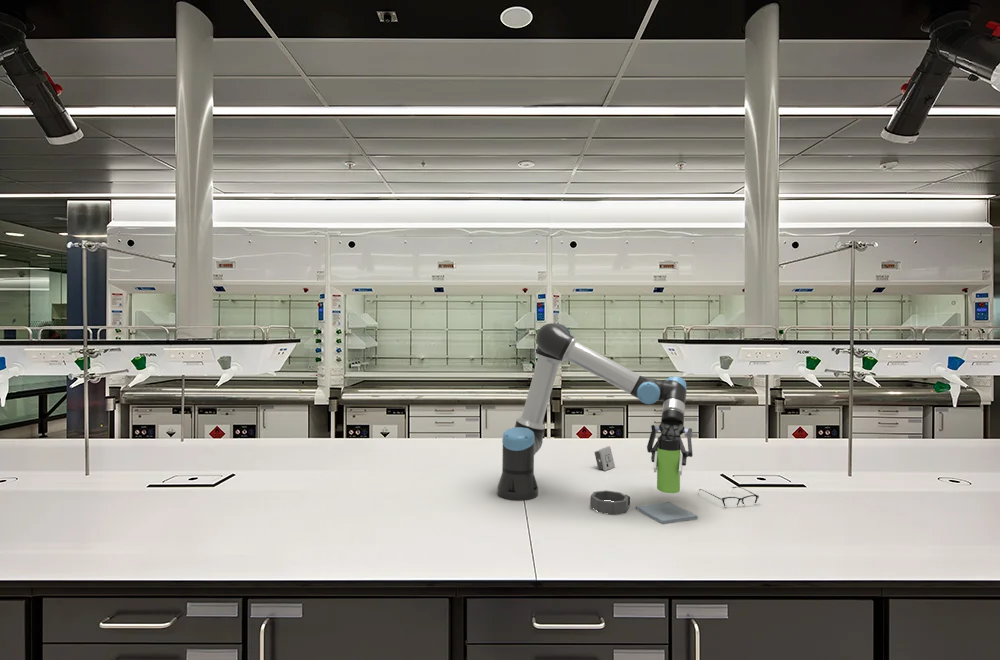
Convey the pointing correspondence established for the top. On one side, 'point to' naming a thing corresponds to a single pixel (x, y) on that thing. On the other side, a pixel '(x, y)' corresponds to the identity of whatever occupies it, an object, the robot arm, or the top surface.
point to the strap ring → (609, 502)
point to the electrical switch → (604, 458)
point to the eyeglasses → (736, 497)
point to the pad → (666, 512)
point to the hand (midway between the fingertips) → (667, 471)
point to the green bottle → (668, 464)
